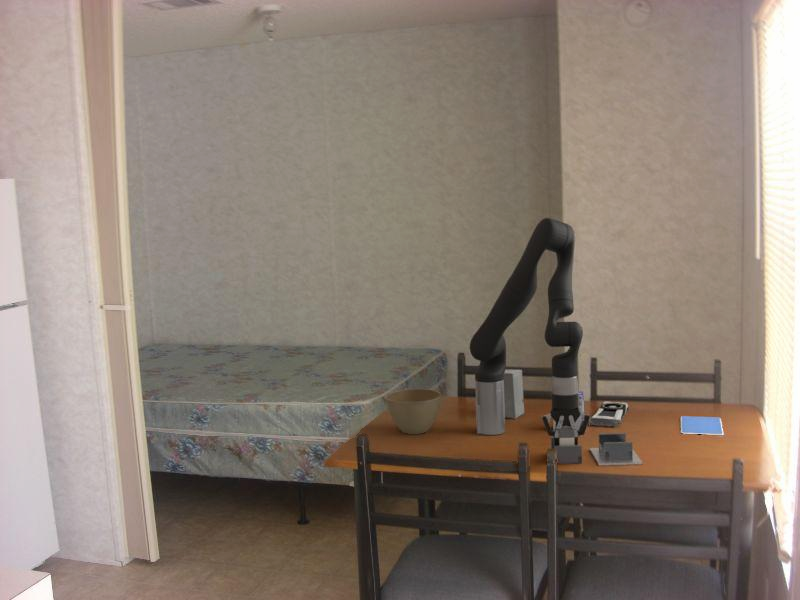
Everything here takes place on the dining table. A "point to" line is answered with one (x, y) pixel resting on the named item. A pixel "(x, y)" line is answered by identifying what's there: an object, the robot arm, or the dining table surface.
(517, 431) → the dining table surface
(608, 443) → the block
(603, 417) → the graphics card
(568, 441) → the plug
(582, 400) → the ink cartridge box
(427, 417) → the flower pot
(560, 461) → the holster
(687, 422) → the tablet computer
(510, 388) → the skincare box
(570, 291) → the robot arm
